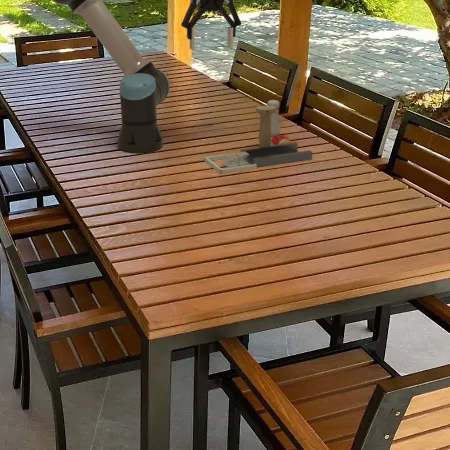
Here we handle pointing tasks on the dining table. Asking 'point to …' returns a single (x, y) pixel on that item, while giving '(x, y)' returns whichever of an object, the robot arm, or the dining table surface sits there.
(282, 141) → the ladybug figurine
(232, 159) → the pale grey cube
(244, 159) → the pale beige cube
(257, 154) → the rail
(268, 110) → the handle
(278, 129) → the salt shaker
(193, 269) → the dining table surface
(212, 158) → the tray
